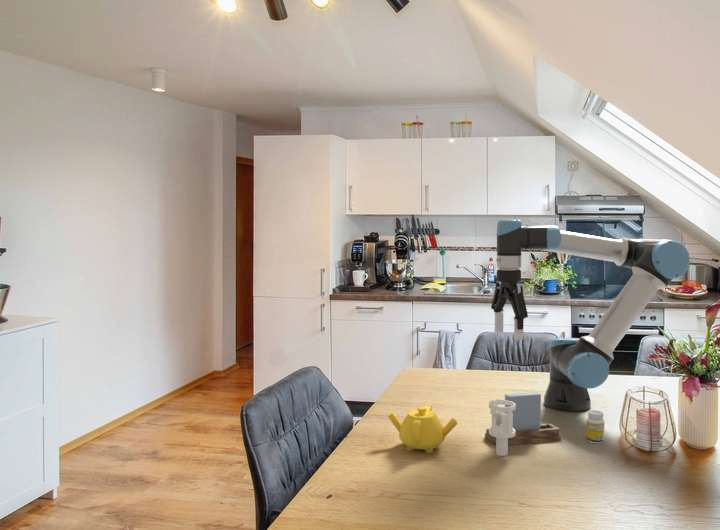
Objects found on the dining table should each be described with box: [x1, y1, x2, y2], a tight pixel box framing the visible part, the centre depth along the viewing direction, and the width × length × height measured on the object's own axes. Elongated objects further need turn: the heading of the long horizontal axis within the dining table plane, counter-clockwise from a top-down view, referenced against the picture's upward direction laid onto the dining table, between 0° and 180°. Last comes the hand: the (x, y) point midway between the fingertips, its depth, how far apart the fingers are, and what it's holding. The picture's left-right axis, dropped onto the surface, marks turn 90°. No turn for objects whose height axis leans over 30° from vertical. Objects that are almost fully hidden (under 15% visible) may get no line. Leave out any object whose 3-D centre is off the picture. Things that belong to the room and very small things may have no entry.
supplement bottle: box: [586, 409, 605, 445], centre depth 176 cm, size 5×5×8 cm
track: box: [484, 423, 562, 446], centre depth 179 cm, size 20×8×3 cm, turn 103°
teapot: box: [387, 405, 458, 454], centre depth 173 cm, size 20×18×11 cm
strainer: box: [488, 399, 516, 457], centre depth 167 cm, size 7×7×15 cm
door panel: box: [504, 391, 542, 431], centre depth 179 cm, size 10×3×12 cm, turn 103°
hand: (508, 335), depth 195 cm, fingers open, 13 cm apart
